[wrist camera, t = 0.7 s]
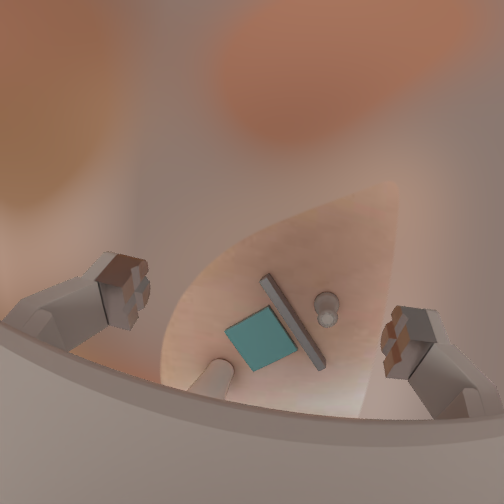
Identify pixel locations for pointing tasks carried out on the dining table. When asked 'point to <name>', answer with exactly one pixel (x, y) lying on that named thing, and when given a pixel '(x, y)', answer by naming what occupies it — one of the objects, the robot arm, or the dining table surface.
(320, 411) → the dining table surface
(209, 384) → the drinking glass
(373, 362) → the dining table surface
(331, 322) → the rook chess piece
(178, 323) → the dining table surface
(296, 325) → the low wall
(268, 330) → the coaster
